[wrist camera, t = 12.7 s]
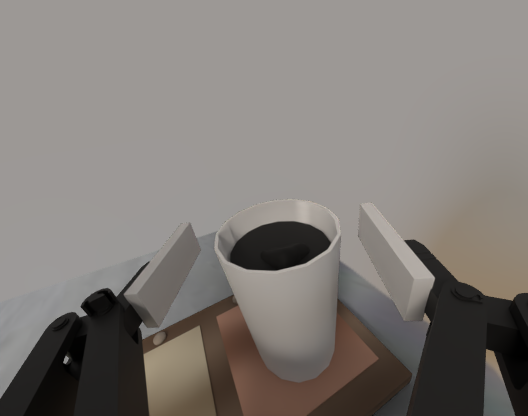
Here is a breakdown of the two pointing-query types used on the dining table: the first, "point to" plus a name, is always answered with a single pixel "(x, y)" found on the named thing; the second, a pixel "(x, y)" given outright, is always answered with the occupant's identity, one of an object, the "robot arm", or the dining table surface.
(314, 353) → the white coffee cup
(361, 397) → the tile board
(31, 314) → the dining table surface
